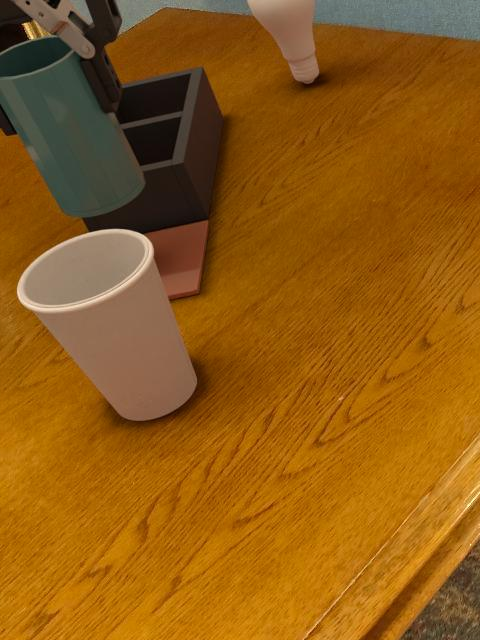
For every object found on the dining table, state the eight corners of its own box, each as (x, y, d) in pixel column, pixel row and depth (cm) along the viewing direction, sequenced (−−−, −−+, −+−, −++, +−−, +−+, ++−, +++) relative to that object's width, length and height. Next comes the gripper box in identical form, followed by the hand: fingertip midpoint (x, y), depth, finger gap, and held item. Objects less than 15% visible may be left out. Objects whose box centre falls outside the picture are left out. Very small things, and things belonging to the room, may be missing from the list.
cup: (53, 225, 71) (-28, 87, 64) (68, 181, 76) (-6, 47, 68) (140, 206, 71) (69, 66, 64) (150, 163, 76) (85, 26, 68)
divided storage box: (95, 243, 82) (64, 188, 79) (125, 140, 95) (100, 88, 91) (208, 218, 82) (183, 162, 79) (224, 118, 94) (202, 65, 91)
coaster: (69, 321, 75) (67, 317, 75) (91, 249, 82) (88, 245, 82) (199, 293, 75) (197, 289, 75) (209, 224, 82) (208, 219, 81)
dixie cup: (109, 363, 71) (35, 240, 63) (224, 344, 70) (162, 217, 63) (83, 444, 65) (-2, 319, 58) (206, 423, 65) (137, 294, 57)
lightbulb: (285, 72, 99) (244, -48, 91) (344, 64, 98) (308, -59, 90) (273, 101, 95) (228, -22, 87) (334, 92, 94) (295, -33, 86)
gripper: (49, -207, 59) (170, 74, 72) (-185, -153, 59) (-24, 117, 72) (23, -175, 54) (158, 121, 67) (-232, -116, 54) (-50, 168, 67)
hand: (63, 118), depth 69 cm, fingers closed on cup, 6 cm apart
